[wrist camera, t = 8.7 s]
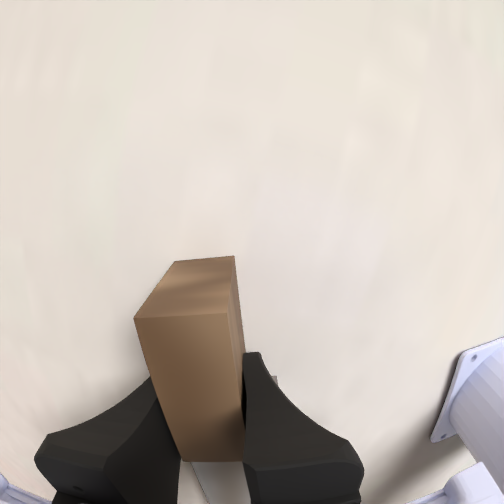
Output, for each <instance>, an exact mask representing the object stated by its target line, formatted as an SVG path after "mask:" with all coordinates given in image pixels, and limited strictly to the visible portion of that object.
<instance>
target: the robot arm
mask: <svg viewBox="0 0 504 504" xmlns="http://www.w3.org/2000/svg"><path fill="white" fill-rule="evenodd" d="M242 366H243V374H244V381H245V388H246V395H247V409H246V430H245V443H244V452H243V460H242V464H243V468H244V473H245V477H246V481H247V486H248V490H249V494H250V499H251V504H360V502H361V496H360V493H359V488H360V485H361V482H362V479H363V476H364V467H363V464H362V462H361V460H360V458H359V456H358V454H357V453H356V451H355V450H354V448H353V447H352V445H351V444H350V442H349V441H348V440H346V439H344V438H341V437H339V436H337V435H335V434H333V433H331V432H329V431H328V430H326V429H325V428H323V427H321V426H320V425H318V424H317V423H316V422H314V421H313V420H312V419H310V418H309V417H308V416H306V415H305V414H304V413H303V412H301V411H300V410H299V409H298V408H297V407H296V406H295V405H294V404H293V403H292V402H291V401H290V400H289V399H288V398H287V397H286V396H285V394H284V393H283V392H282V391H281V390H280V388H279V387H278V386H277V384H276V383H275V381H274V380H273V378H272V377H271V375H270V374H269V372H268V370H267V368H266V366H265V364H264V362H263V360H262V357H261V354H260V353H259V352H250V353H243V360H242ZM456 434H458V435H459V437H460V438H461V440H462V441H463V443H464V444H465V446H466V447H467V449H468V450H469V452H470V453H471V455H472V456H473V458H474V459H475V461H476V462H477V463H476V464H474V465H473V466H471V467H469V468H467V469H465V470H463V471H461V472H459V473H457V474H455V475H454V476H452V477H451V478H450V479H449V480H448V481H447V483H446V485H445V486H444V488H443V489H441V490H438V491H436V492H434V493H431V494H429V495H426V496H424V497H421V498H419V499H416V500H414V501H411V502H408V503H405V504H504V337H502V338H500V339H497V340H495V341H492V342H489V343H487V344H484V345H481V346H478V347H475V348H472V349H470V350H467V351H465V352H463V353H462V354H461V356H460V358H459V360H458V364H457V367H456V370H455V374H454V377H453V380H452V383H451V386H450V389H449V392H448V395H447V397H446V400H445V403H444V406H443V408H442V411H441V413H440V416H439V419H438V421H437V423H436V426H435V428H434V431H433V433H432V435H431V437H430V440H431V441H432V443H436V442H439V441H441V440H444V439H446V438H449V437H451V436H453V435H456ZM180 460H181V455H180V453H179V451H178V448H177V446H176V444H175V441H174V439H173V436H172V434H171V431H170V429H169V426H168V424H167V421H166V419H165V416H164V413H163V411H162V408H161V405H160V402H159V400H158V397H157V394H156V391H155V388H154V385H153V382H152V379H151V376H150V377H149V378H148V379H147V380H146V381H145V382H144V383H143V384H142V385H140V386H139V387H138V388H137V389H136V390H135V391H133V392H132V393H131V394H130V395H129V396H128V397H126V398H125V399H124V400H122V401H121V402H119V403H118V404H116V405H115V406H114V407H112V408H110V409H109V410H107V411H105V412H103V413H102V414H100V415H98V416H96V417H94V418H92V419H90V420H88V421H86V422H84V423H81V424H79V425H76V426H74V427H71V428H68V429H65V430H61V431H58V432H54V433H51V434H48V435H47V436H46V438H45V439H44V441H43V443H42V444H41V446H40V448H39V449H38V451H37V453H36V454H35V456H34V461H35V464H36V466H37V468H38V469H39V471H40V472H41V473H42V475H43V476H44V477H45V478H46V479H47V480H48V481H49V483H50V484H51V485H52V486H53V487H54V488H55V489H56V490H57V492H56V494H55V497H54V499H53V501H49V500H47V499H44V498H42V497H39V496H37V495H34V494H32V493H30V492H27V491H25V490H23V489H21V488H19V487H16V486H14V485H12V484H10V483H9V482H8V481H7V479H6V478H5V477H4V476H3V475H2V474H1V473H0V504H177V495H178V480H179V469H180Z"/></svg>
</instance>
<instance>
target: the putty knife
mask: <svg viewBox="0 0 504 504" xmlns="http://www.w3.org/2000/svg"><path fill="white" fill-rule="evenodd" d="M134 322H135V326H136V329H137V333H138V337H139V340H140V344H141V347H142V351H143V354H144V357H145V360H146V364H147V367H148V370H149V373H150V376H151V379H152V382H153V385H154V388H155V391H156V394H157V397H158V400H159V402H160V405H161V408H162V411H163V413H164V416H165V419H166V421H167V424H168V426H169V429H170V431H171V434H172V436H173V439H174V441H175V444H176V446H177V448H178V451H179V453H180V455H181V458H182V460H183V462H191V464H192V467H193V469H194V471H195V473H196V476H197V478H198V480H199V483H200V485H201V487H202V489H203V491H204V493H205V496H206V498H207V500H208V502H209V504H251V499H250V494H249V490H248V486H247V481H246V477H245V473H244V468H243V464H242V460H243V452H244V443H245V430H246V409H247V395H246V388H245V381H244V374H243V366H242V360H243V353H246V352H245V344H244V335H243V327H242V319H241V310H240V302H239V293H238V285H237V276H236V267H235V258H234V256H226V257H215V258H205V259H194V260H183V261H174V263H173V264H172V265H171V267H170V268H169V270H168V271H167V272H166V274H165V275H164V276H163V278H162V279H161V280H160V282H159V283H158V284H157V286H156V287H155V288H154V290H153V291H152V293H151V294H150V295H149V297H148V298H147V300H146V301H145V302H144V304H143V305H142V306H141V308H140V309H139V311H138V312H137V314H136V315H135V316H134ZM271 377H272V378H273V380H274V381H275V383H276V384H277V386H278V383H277V376H271Z"/></svg>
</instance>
